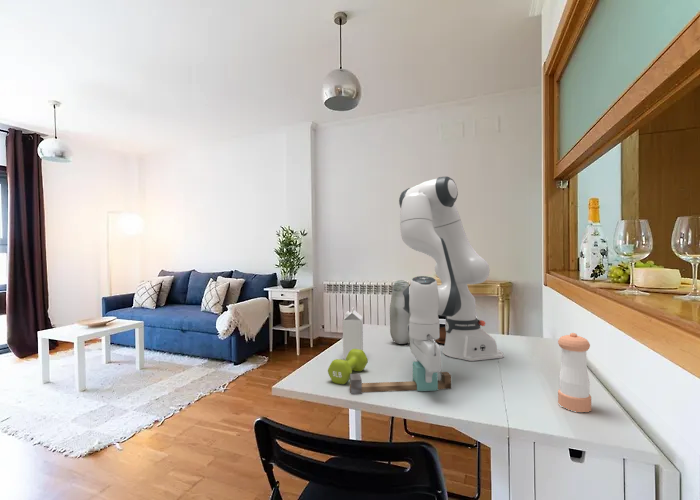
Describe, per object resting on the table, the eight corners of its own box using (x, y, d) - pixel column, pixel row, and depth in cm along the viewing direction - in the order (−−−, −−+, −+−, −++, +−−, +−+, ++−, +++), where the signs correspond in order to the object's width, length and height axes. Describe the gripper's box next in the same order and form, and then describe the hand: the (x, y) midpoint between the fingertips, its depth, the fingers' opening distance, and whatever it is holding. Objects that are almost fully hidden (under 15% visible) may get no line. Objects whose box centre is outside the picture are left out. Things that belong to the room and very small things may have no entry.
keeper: (431, 383, 107) (431, 361, 107) (437, 390, 101) (437, 367, 101) (412, 383, 107) (412, 361, 107) (417, 391, 101) (417, 367, 101)
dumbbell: (349, 367, 124) (349, 346, 124) (369, 370, 120) (369, 349, 120) (325, 383, 109) (325, 360, 109) (348, 387, 105) (348, 363, 105)
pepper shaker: (558, 409, 89) (557, 334, 89) (558, 398, 95) (557, 328, 96) (592, 415, 85) (591, 337, 86) (590, 404, 92) (589, 331, 92)
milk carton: (363, 354, 138) (362, 306, 138) (361, 360, 131) (361, 309, 131) (345, 354, 138) (344, 306, 139) (343, 360, 131) (342, 309, 132)
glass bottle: (393, 339, 161) (392, 279, 161) (415, 341, 157) (414, 279, 157) (387, 345, 152) (386, 280, 152) (410, 347, 148) (409, 281, 148)
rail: (446, 383, 107) (446, 370, 107) (452, 390, 102) (452, 376, 102) (349, 387, 105) (349, 374, 105) (350, 394, 100) (350, 380, 100)
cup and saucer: (427, 341, 159) (427, 327, 159) (448, 338, 163) (448, 325, 163) (444, 347, 148) (444, 333, 148) (466, 344, 152) (466, 330, 152)
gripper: (446, 339, 94) (447, 390, 94) (424, 323, 114) (425, 365, 114) (423, 340, 93) (424, 391, 93) (406, 324, 114) (406, 366, 114)
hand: (424, 377), depth 104 cm, fingers closed on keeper, 5 cm apart
